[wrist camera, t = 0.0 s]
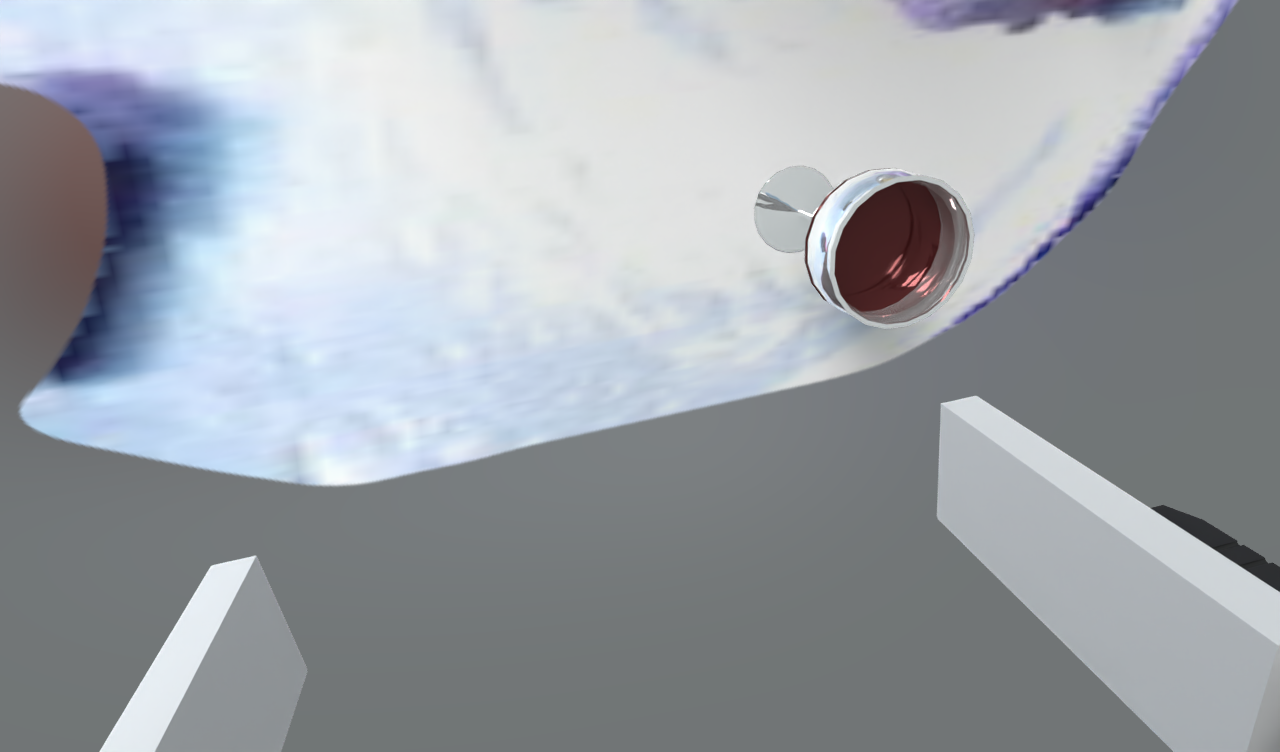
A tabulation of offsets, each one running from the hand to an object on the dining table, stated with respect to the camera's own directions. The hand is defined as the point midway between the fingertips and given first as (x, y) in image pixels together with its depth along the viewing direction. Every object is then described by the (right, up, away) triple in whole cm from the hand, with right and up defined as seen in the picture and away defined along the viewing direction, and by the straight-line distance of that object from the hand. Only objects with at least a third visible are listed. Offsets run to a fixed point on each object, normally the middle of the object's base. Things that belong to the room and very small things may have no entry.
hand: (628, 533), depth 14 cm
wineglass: (+9, +13, +28) cm, 32 cm away
